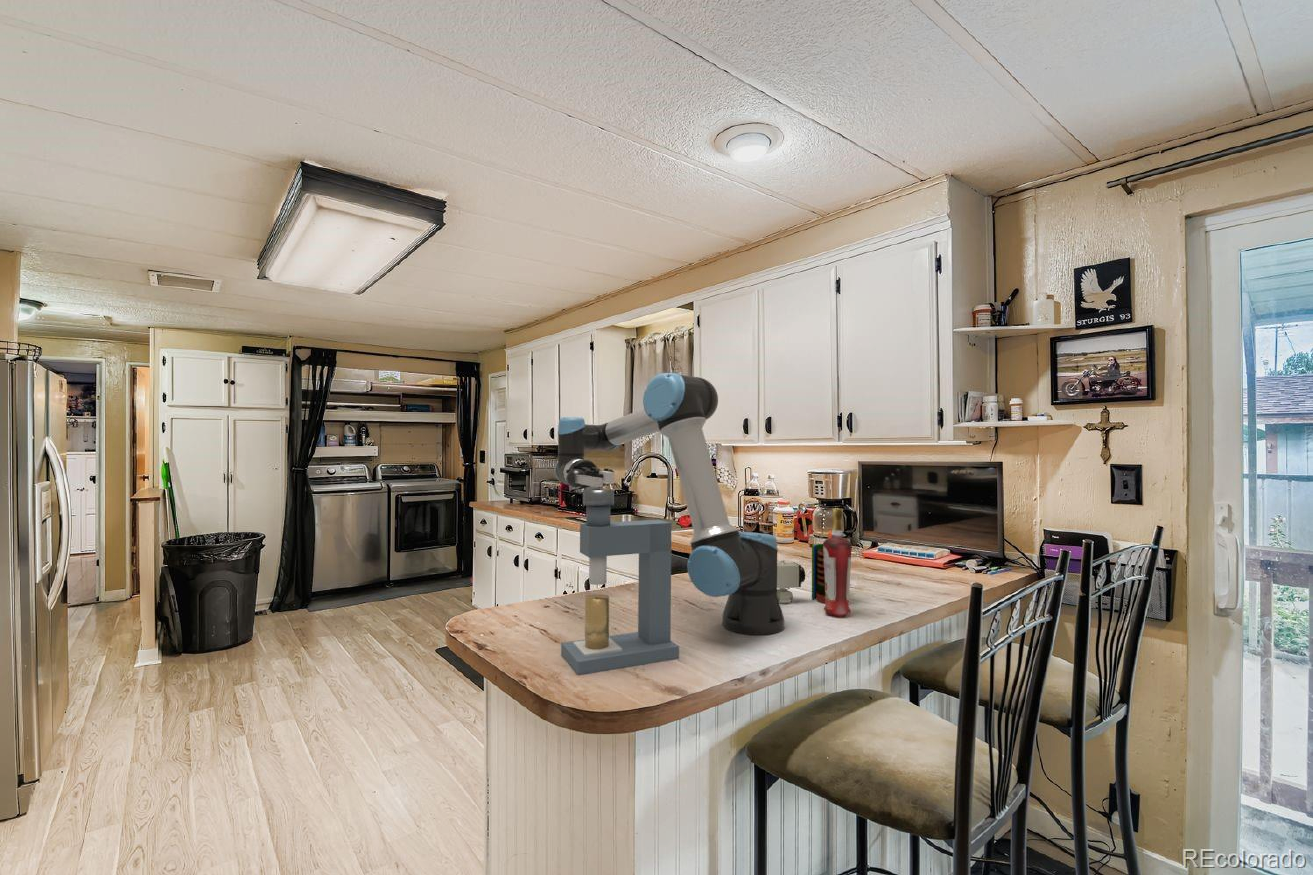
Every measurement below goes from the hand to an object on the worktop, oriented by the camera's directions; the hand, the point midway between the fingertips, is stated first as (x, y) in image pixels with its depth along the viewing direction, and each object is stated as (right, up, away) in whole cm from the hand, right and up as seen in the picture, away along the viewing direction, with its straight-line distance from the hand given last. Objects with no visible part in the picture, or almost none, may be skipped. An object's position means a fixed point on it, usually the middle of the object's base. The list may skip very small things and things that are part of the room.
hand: (611, 478), depth 138 cm
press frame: (+3, -37, -15) cm, 40 cm away
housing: (-2, -34, -17) cm, 38 cm away
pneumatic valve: (+47, -38, +29) cm, 67 cm away
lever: (-4, -4, -10) cm, 12 cm away
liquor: (+59, -38, +17) cm, 72 cm away
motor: (+61, -38, +31) cm, 78 cm away
